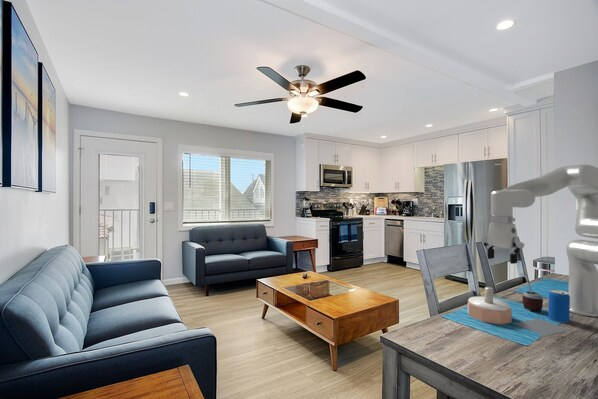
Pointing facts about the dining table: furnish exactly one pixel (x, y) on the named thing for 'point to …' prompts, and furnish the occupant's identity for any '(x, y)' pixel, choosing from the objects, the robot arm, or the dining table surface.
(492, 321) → the octagonal ring frame
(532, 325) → the mat
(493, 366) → the dining table surface
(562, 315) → the beverage can
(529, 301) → the mate gourd
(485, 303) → the lid
